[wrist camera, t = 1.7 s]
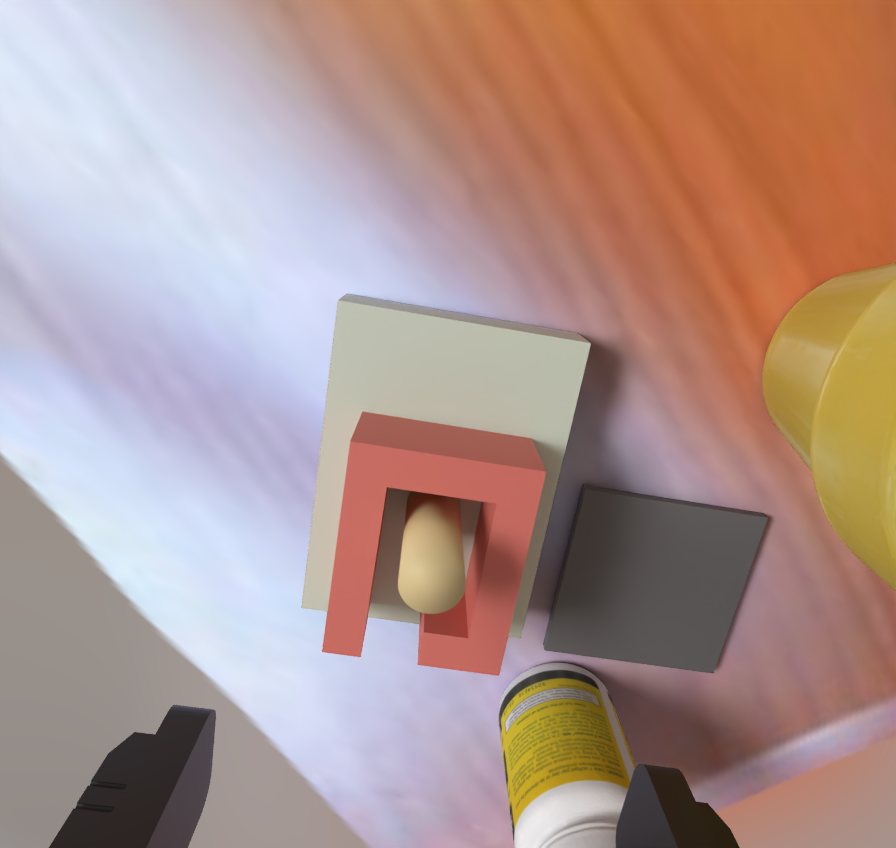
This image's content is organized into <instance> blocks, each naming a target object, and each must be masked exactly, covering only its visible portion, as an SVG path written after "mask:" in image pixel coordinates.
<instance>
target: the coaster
mask: <svg viewBox="0 0 896 848" xmlns="http://www.w3.org/2000/svg"><path fill="white" fill-rule="evenodd" d="M767 519H768V517H767V516H765V515H764V514H763V513H758V512H752V511H745V510H739V509H732V508H726V507H719V506H713V505H706V504H700V503H694V502H687V501H681V500H674V499H668V498H661V497H655V496H648V495H642V494H635V493H629V492H623V491H616V490H610V489H603V488H597V487H590V486H584V485H583V488H582V492H581V496H580V500H579V504H578V508H577V512H576V516H575V520H574V524H573V528H572V532H571V536H570V540H569V544H568V548H567V552H566V556H565V560H564V564H563V567H562V571H561V575H560V579H559V583H558V587H557V591H556V595H555V599H554V603H553V607H552V611H551V615H550V619H549V623H548V627H547V631H546V635H545V639H544V643H543V645H544V649H545V650H547V651H554V652H561V653H569V654H576V655H583V656H590V657H598V658H605V659H612V660H620V661H627V662H634V663H641V664H649V665H656V666H663V667H670V668H678V669H685V670H692V671H700V672H707V673H714V671H715V668H716V665H717V662H718V659H719V657H720V654H721V651H722V648H723V645H724V642H725V639H726V637H727V634H728V631H729V628H730V625H731V622H732V619H733V617H734V614H735V611H736V608H737V605H738V602H739V599H740V597H741V594H742V591H743V588H744V585H745V582H746V579H747V577H748V574H749V571H750V568H751V565H752V562H753V559H754V557H755V554H756V551H757V548H758V545H759V542H760V539H761V537H762V534H763V531H764V528H765V525H766V522H767Z"/></svg>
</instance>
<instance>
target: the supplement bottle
mask: <svg viewBox="0 0 896 848" xmlns="http://www.w3.org/2000/svg"><path fill="white" fill-rule="evenodd" d="M498 716H499V726H500V735H501V742H502V750H503V759H504V767H505V775H506V784H507V792H508V798H509V807H510V815H511V821H512V831H513V840H514V844H515V848H616V828H617V823H618V820H619V817H620V814H621V810H622V807H623V804H624V801H625V798H626V794H627V791H628V788H629V785H630V782H631V778H632V775H633V772H634V770H635V768H636V765H635V762H634V759H633V757H632V754H631V751H630V749H629V746H628V743H627V740H626V738H625V735H624V732H623V729H622V727H621V724H620V721H619V718H618V715H617V713H616V710H615V708H614V705H613V702H612V699H611V697H610V694H609V692H608V690H607V689H606V687H605V686H604V684H603V683H602V682H601V681H600V680H599V679H598V678H597V677H596V676H595V675H593V674H592V673H590V672H589V671H587V670H585V669H583V668H581V667H578V666H576V665H572V664H568V663H548V664H543V665H539V666H536V667H533V668H531V669H529V670H527V671H525V672H523V673H522V674H520V675H519V676H518V677H517V678H515V679H514V680H513V681H512V682H511V683H510V685H509V686H508V687H507V689H506V690H505V692H504V694H503V696H502V698H501V701H500V704H499V714H498Z"/></svg>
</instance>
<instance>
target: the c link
mask: <svg viewBox="0 0 896 848" xmlns="http://www.w3.org/2000/svg"><path fill="white" fill-rule="evenodd" d="M545 475H546V470H545V468H544V466H543V463H542V461H541V459H540V456H539V454H538V452H537V450H536V447H535V445H534V443H533V441H532V438H526V437H520V436H514V435H507V434H501V433H495V432H489V431H482V430H476V429H470V428H463V427H457V426H451V425H445V424H438V423H432V422H426V421H419V420H413V419H407V418H401V417H394V416H388V415H382V414H376V413H369V412H363V411H362V414H361V416H360V419H359V421H358V423H357V426H356V428H355V431H354V433H353V436H352V438H351V440H350V446H349V454H348V461H347V469H346V476H345V484H344V491H343V499H342V506H341V514H340V521H339V529H338V536H337V544H336V551H335V559H334V566H333V574H332V581H331V589H330V597H329V604H328V612H327V619H326V627H325V634H324V642H323V649H322V652H326V653H334V654H341V655H349V656H356V657H361V652H362V646H363V641H364V635H365V630H366V624H367V619H368V613H369V608H370V602H371V595H372V589H373V583H374V576H375V570H376V563H377V557H378V550H379V544H380V537H381V531H382V525H383V518H384V512H385V505H386V499H387V492H388V487H389V488H396V489H402V490H409V491H416V492H422V493H429V494H435V495H442V496H449V497H455V498H462V499H468V500H475V501H481V502H482V503H481V508H480V513H479V517H478V522H477V527H476V532H475V537H474V542H473V547H472V552H471V557H470V562H469V567H468V572H467V577H466V588H465V592H464V595H463V597H462V599H461V600H460V601H459V603H458V604H457V605H456V606H454V607H453V608H451V609H450V610H448V611H445V612H442V613H438V614H426V613H421V612H420V625H419V647H418V665H423V666H431V667H438V668H446V669H453V670H460V671H468V672H475V673H483V674H490V675H498V676H499V673H500V669H501V665H502V660H503V656H504V652H505V648H506V643H507V639H508V635H509V630H510V626H511V622H512V617H513V613H514V609H515V604H516V600H517V596H518V592H519V587H520V583H521V579H522V574H523V570H524V566H525V561H526V557H527V553H528V549H529V544H530V540H531V536H532V531H533V527H534V523H535V518H536V514H537V510H538V505H539V501H540V497H541V493H542V488H543V484H544V480H545Z"/></svg>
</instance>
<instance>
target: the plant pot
mask: <svg viewBox="0 0 896 848" xmlns="http://www.w3.org/2000/svg"><path fill="white" fill-rule="evenodd" d="M762 388H763V395H764V400H765V404H766V407H767V410H768V413H769V415H770V417H771V419H772V420H773V422H774V424H775V426H776V427H777V428H778V430H779V431H780V432H781V434H782V435H783V436H784V437H785V439H786V440H787V441H788V443H789V444H790V445H791V446H792V448H793V449H794V450H795V451H796V453H797V454H798V455H799V456H800V458H801V459H802V460H803V461H804V463H805V464H806V465H807V467H808V468H809V469H810V471H811V472H812V474H813V480H814V484H815V487H816V491H817V495H818V498H819V501H820V503H821V506H822V508H823V510H824V512H825V515H826V517H827V519H828V521H829V522H830V524H831V526H832V527H833V529H834V530H835V532H836V533H837V535H838V536H839V537H840V539H841V540H842V541H843V542H844V543H845V544H846V546H847V547H848V548H849V549H850V550H851V551H852V552H853V553H854V554H855V555H856V556H857V557H858V558H859V559H860V560H861V561H862V562H863V563H864V564H866V565H867V566H868V567H869V568H870V569H871V570H872V571H873V572H874V573H875V574H877V575H878V576H879V577H880V578H881V579H882V580H884V581H885V582H886V583H887V584H888V585H889V586H891V587H892V588H893V589H894V590H895V591H896V262H895V263H890V264H886V265H882V266H877V267H873V268H868V269H864V270H859V271H854V272H850V273H846V274H843V275H840V276H837V277H835V278H832V279H830V280H828V281H826V282H824V283H823V284H821V285H819V286H818V287H816V288H815V289H813V290H812V291H810V292H809V293H808V294H807V295H805V296H804V297H803V298H802V299H801V300H800V301H798V302H797V303H796V304H795V305H794V306H793V307H792V309H791V310H790V311H789V312H788V313H787V315H786V316H785V317H784V319H783V320H782V322H781V323H780V325H779V326H778V328H777V329H776V331H775V333H774V335H773V337H772V339H771V341H770V344H769V346H768V349H767V352H766V356H765V360H764V366H763V374H762Z"/></svg>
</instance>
